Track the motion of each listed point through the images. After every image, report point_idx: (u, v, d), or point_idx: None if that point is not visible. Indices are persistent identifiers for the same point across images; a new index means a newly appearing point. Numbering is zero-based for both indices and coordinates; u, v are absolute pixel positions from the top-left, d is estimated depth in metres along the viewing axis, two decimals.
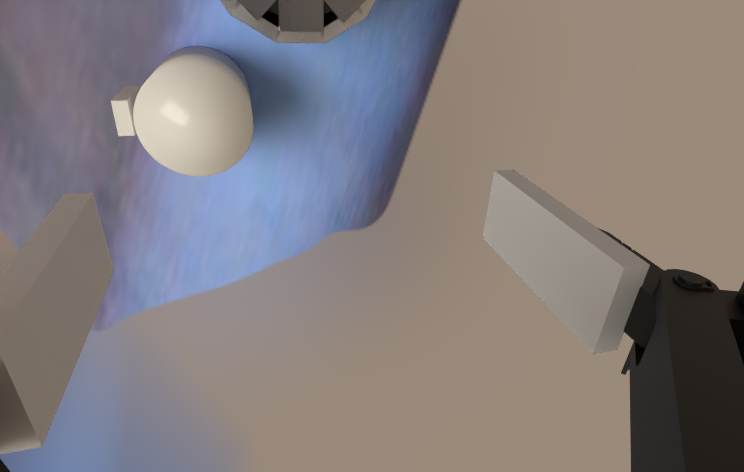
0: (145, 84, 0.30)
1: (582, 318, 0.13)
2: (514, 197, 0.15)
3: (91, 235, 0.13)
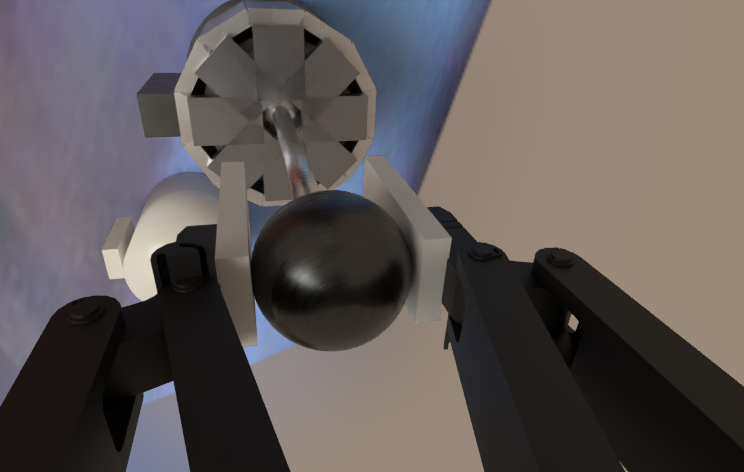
0: (135, 241, 0.30)
1: (409, 291, 0.13)
2: (374, 180, 0.16)
3: None
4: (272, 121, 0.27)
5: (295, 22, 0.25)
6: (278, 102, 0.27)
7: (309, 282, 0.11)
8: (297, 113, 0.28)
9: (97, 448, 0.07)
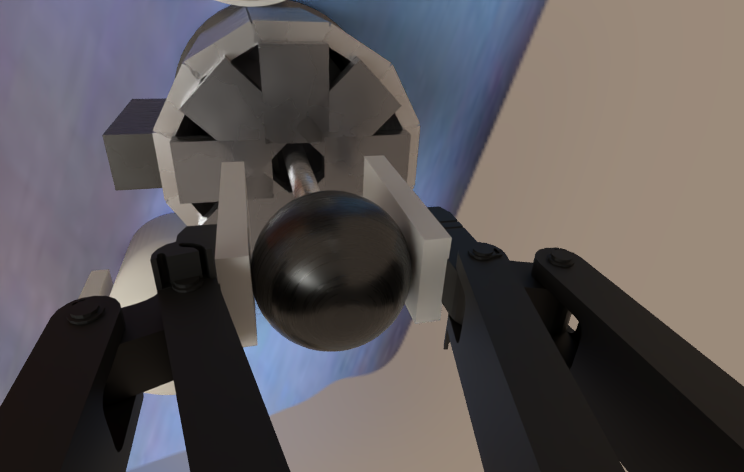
0: None
1: (409, 291, 0.13)
2: (374, 180, 0.16)
3: None
4: None
5: (317, 38, 0.18)
6: None
7: (310, 282, 0.11)
8: None
9: (97, 448, 0.07)
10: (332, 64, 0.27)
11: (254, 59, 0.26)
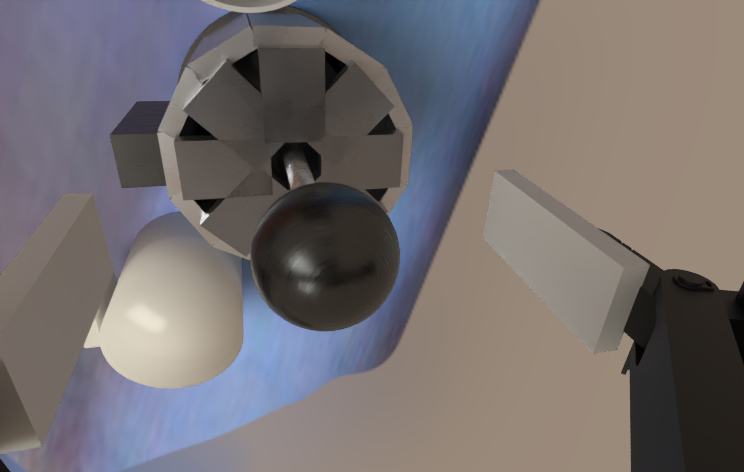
0: (112, 308, 0.25)
1: (582, 318, 0.13)
2: (514, 197, 0.15)
3: (91, 235, 0.13)
4: None
5: (314, 43, 0.19)
6: None
7: (304, 264, 0.12)
8: None
9: None
10: (329, 67, 0.28)
11: (254, 63, 0.27)
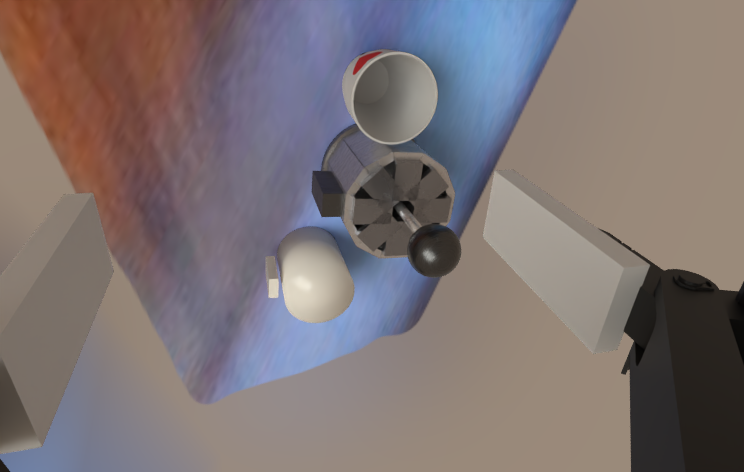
0: (295, 275, 0.48)
1: (582, 318, 0.13)
2: (513, 197, 0.15)
3: (91, 235, 0.13)
4: None
5: (417, 158, 0.44)
6: None
7: (434, 251, 0.36)
8: None
9: None
10: None
11: None
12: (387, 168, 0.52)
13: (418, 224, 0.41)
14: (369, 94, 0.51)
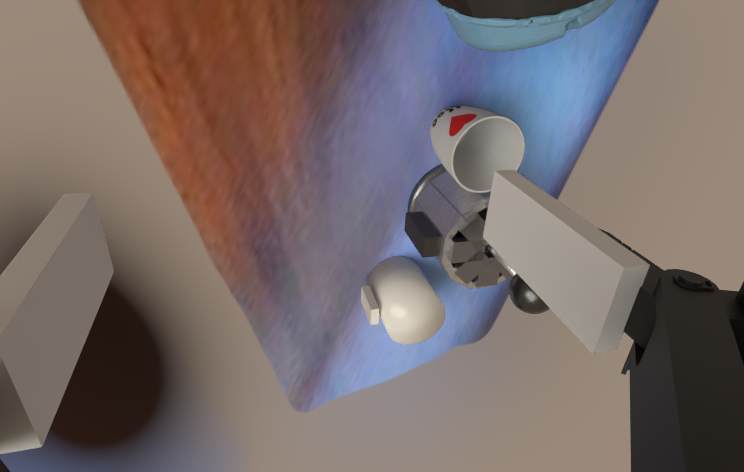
0: (396, 306, 0.55)
1: (582, 318, 0.13)
2: (513, 197, 0.15)
3: (91, 235, 0.13)
4: None
5: None
6: None
7: None
8: None
9: None
10: None
11: None
12: None
13: None
14: None
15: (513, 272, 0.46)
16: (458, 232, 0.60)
